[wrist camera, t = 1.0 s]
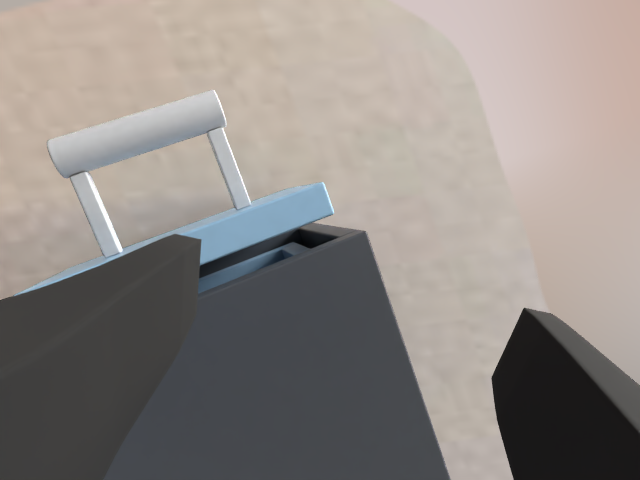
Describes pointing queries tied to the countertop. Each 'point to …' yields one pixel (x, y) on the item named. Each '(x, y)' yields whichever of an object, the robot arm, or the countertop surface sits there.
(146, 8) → the countertop surface
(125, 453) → the dark grey drawer cabinet
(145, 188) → the countertop surface
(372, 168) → the countertop surface
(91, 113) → the countertop surface
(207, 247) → the blue drawer
